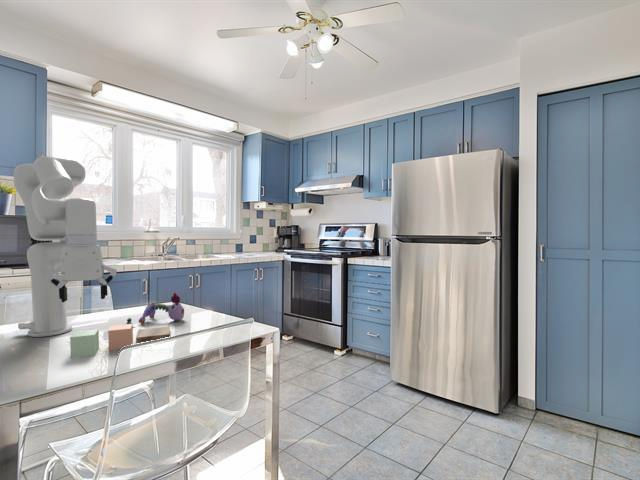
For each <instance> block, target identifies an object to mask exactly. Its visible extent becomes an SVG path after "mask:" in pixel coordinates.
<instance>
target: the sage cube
mask: <svg viewBox="0 0 640 480" xmlns="http://www.w3.org/2000/svg"><path fill="white" fill-rule="evenodd" d="M99 338H100V334H99V328H98V329H91V330H89V329H87V330H79V331H74V332H73V334H72V335H70V337H69V342H70V343H69V345H70V347H69V348H70V359H74V358H82V357H89V356H96V355H97V353H98V351H99V349H100V341H99V340H100V339H99Z"/></svg>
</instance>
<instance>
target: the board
mask: <svg viewBox="0 0 640 480" xmlns="http://www.w3.org/2000/svg"><path fill="white" fill-rule="evenodd" d="M169 336H170V337H171V327H170V326H162V327H161V326H160V327H152V328H151V327H150V328H141V329H138V330H137V333H136V337H135V342H136V343H143V342H150V340H152V341H157V340H156V339H160V338H165V337H169Z"/></svg>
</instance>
